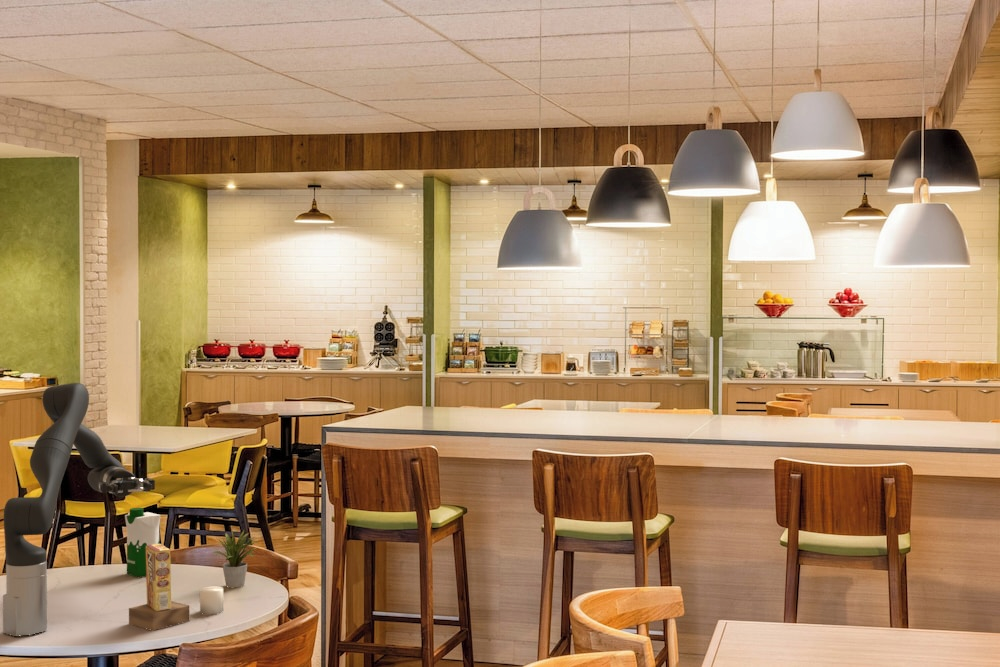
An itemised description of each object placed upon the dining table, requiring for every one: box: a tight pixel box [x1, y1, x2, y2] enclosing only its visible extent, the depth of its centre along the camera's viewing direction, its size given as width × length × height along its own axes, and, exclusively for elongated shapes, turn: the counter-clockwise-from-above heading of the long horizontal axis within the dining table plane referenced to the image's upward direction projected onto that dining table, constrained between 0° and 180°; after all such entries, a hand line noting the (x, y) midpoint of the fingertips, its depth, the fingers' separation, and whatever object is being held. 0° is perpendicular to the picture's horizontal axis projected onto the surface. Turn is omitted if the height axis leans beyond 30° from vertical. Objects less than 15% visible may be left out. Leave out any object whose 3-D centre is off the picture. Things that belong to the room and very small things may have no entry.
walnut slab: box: [128, 600, 190, 631], centre depth 288 cm, size 11×10×4 cm
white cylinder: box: [199, 585, 224, 615], centre depth 299 cm, size 6×6×6 cm
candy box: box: [145, 543, 172, 611], centre depth 288 cm, size 9×4×15 cm, turn 33°
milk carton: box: [124, 507, 162, 578], centre depth 342 cm, size 9×9×20 cm
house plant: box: [212, 529, 263, 588], centre depth 326 cm, size 14×14×16 cm
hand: (133, 488), depth 305 cm, fingers open, 8 cm apart
